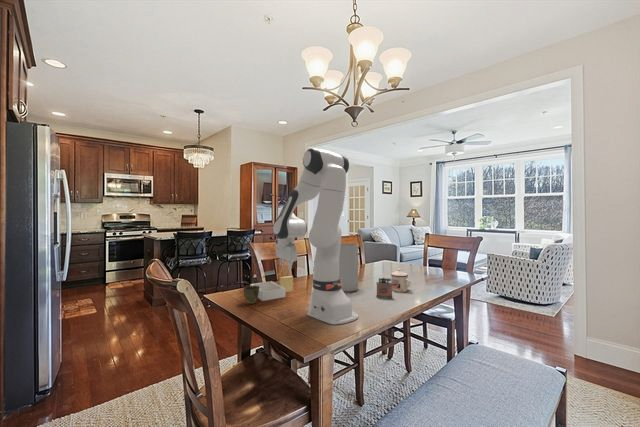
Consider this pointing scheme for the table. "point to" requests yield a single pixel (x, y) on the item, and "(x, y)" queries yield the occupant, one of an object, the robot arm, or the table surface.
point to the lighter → (384, 288)
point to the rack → (270, 290)
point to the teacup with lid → (400, 281)
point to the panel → (286, 283)
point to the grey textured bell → (251, 293)
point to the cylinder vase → (348, 267)
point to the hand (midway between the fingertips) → (285, 267)
